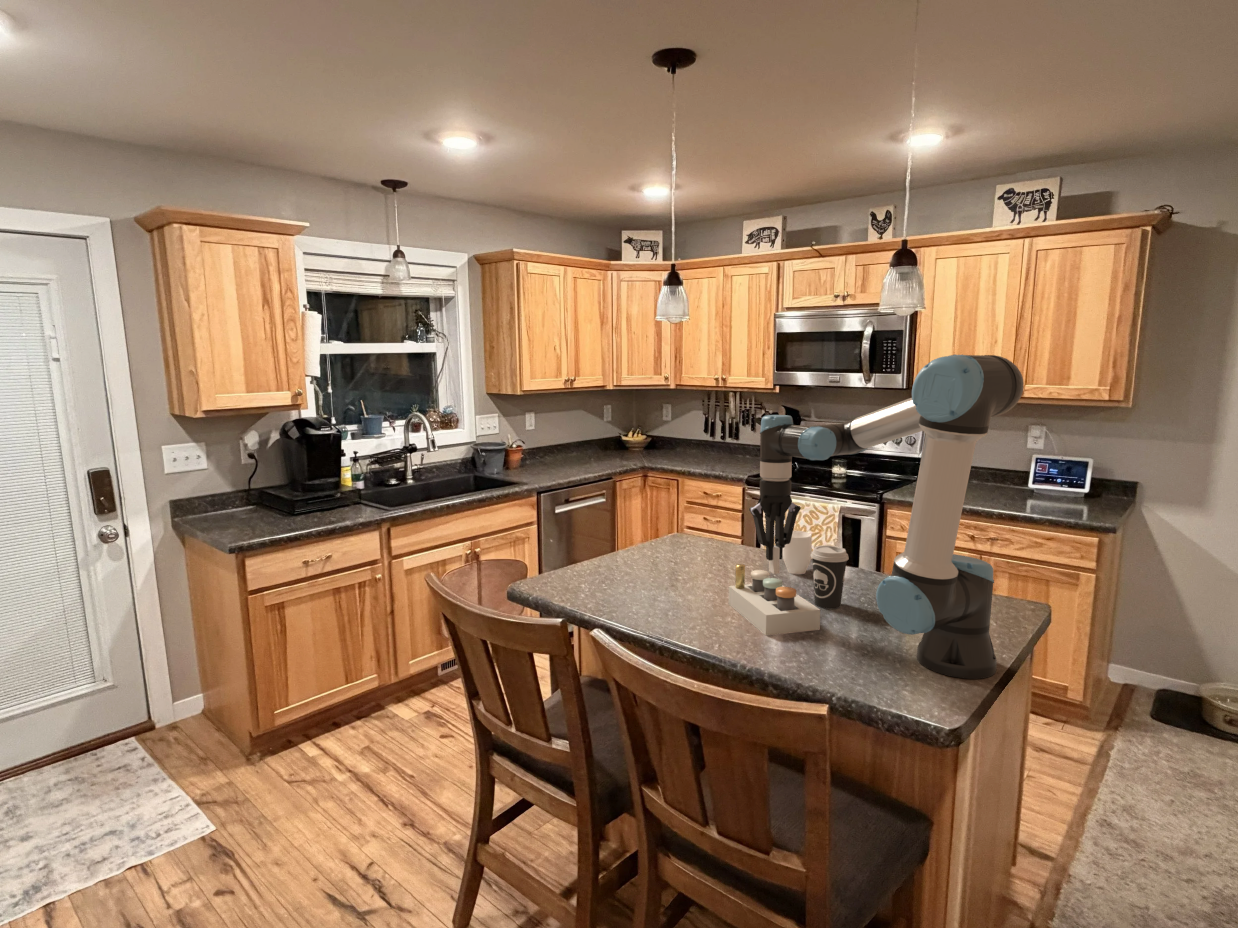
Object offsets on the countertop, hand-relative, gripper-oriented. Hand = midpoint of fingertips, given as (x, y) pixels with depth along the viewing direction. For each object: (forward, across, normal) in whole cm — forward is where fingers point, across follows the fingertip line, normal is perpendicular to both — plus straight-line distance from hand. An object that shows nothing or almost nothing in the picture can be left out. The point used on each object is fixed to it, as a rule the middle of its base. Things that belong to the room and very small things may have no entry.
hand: (773, 572), depth 172 cm
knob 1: (+12, 0, -7) cm, 14 cm away
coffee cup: (+12, -18, -4) cm, 22 cm away
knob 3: (+12, 0, +7) cm, 13 cm away
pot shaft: (+6, +5, -9) cm, 12 cm away
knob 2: (+12, 0, 0) cm, 12 cm away
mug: (+12, -25, -34) cm, 43 cm away
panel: (+12, 0, 0) cm, 12 cm away
